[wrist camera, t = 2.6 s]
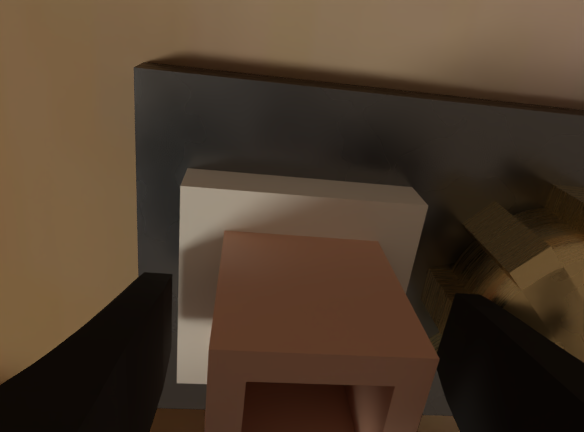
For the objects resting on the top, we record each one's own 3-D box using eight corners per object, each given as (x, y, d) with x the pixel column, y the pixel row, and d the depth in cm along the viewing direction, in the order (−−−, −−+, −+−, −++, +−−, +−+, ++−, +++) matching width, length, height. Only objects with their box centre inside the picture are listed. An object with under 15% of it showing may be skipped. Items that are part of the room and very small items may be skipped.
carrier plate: (148, 383, 15) (114, 504, 11) (143, 62, 11) (89, 90, 7) (743, 402, 18) (871, 506, 14) (918, 147, 13) (1163, 199, 10)
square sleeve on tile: (183, 352, 13) (143, 542, 9) (187, 167, 11) (137, 288, 6) (371, 359, 14) (431, 540, 9) (411, 187, 12) (518, 309, 7)
